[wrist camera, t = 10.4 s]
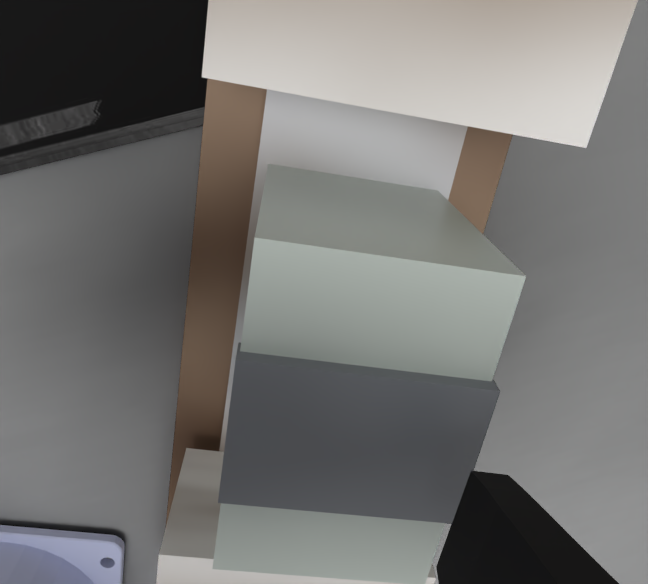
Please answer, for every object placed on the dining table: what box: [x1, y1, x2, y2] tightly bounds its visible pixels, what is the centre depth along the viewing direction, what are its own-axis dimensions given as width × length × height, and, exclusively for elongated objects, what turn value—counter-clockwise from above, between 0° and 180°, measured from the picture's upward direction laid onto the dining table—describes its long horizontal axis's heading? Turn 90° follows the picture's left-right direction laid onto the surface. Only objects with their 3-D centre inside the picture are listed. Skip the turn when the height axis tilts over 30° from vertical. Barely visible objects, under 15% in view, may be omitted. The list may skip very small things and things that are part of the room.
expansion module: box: [212, 164, 526, 584], centre depth 13 cm, size 4×7×6 cm, turn 170°
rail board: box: [156, 0, 638, 584], centre depth 15 cm, size 24×8×6 cm, turn 170°
